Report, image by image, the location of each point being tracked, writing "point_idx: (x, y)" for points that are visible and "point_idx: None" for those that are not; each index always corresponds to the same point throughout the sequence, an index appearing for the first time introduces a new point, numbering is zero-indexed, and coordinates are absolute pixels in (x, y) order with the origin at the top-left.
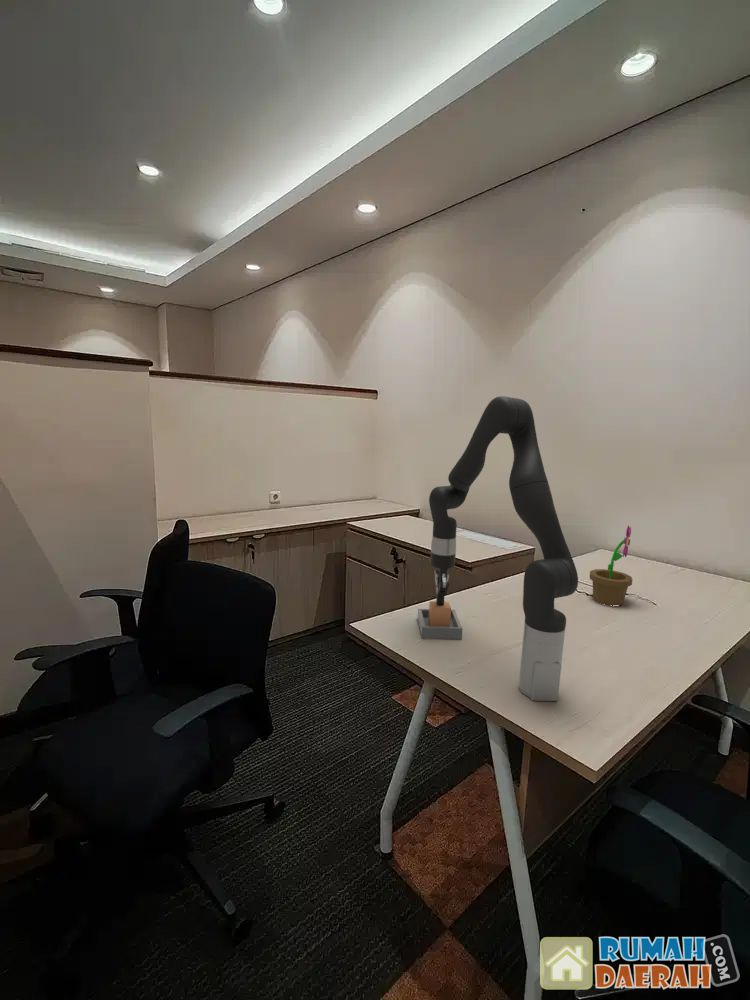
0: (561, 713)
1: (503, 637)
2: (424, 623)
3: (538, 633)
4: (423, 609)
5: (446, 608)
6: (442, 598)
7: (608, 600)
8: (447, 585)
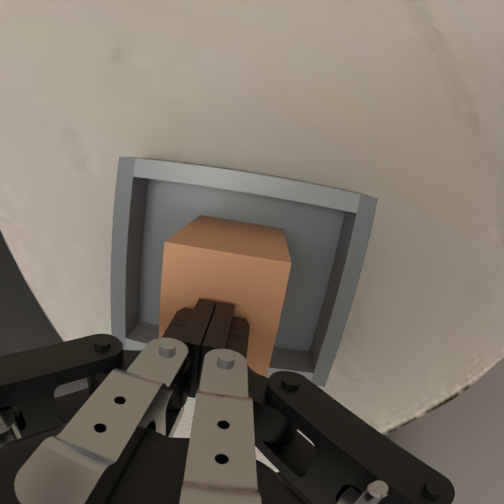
0: None
1: (349, 4)
2: (284, 370)
3: None
4: (118, 326)
5: (284, 295)
6: (245, 352)
7: None
8: (439, 486)
